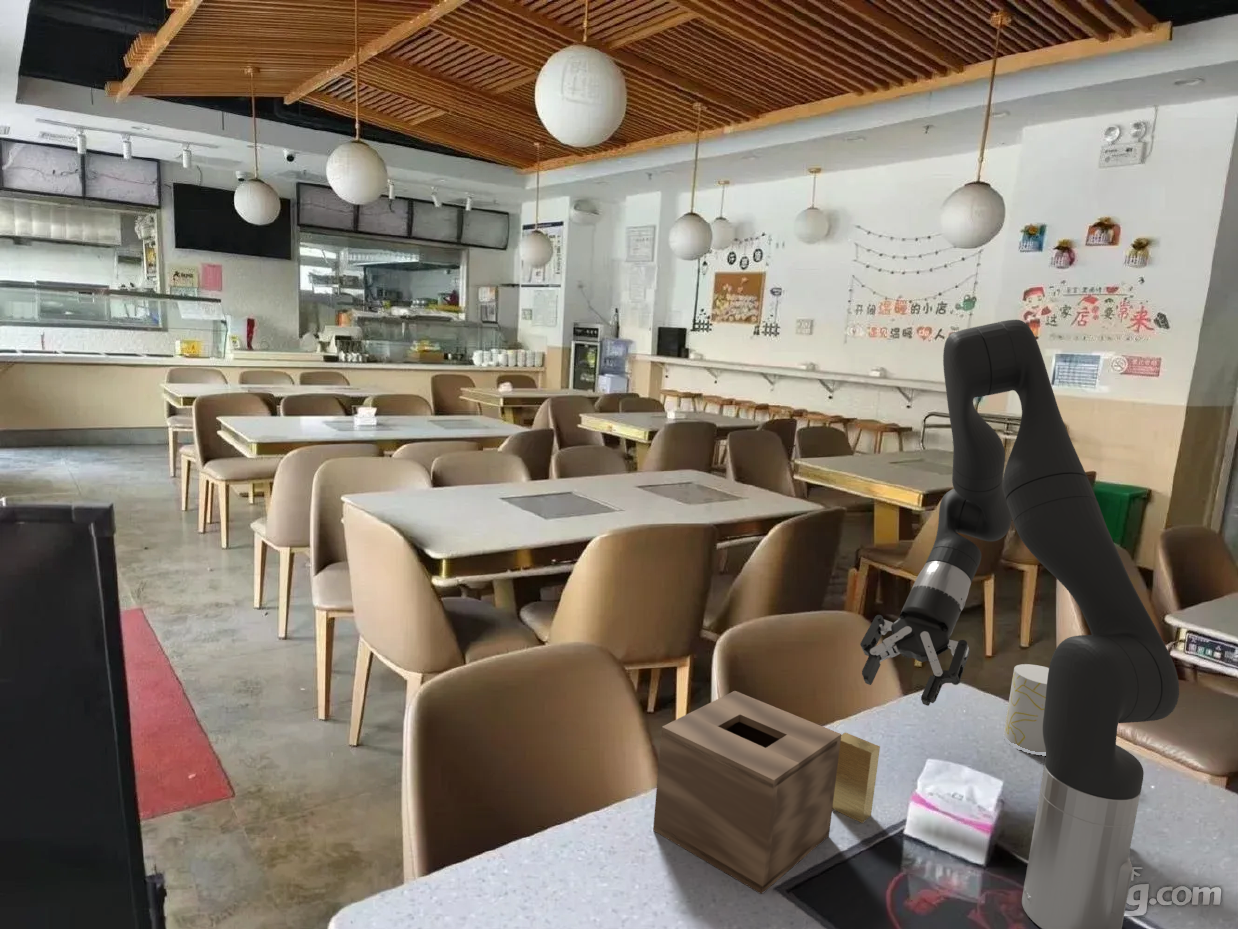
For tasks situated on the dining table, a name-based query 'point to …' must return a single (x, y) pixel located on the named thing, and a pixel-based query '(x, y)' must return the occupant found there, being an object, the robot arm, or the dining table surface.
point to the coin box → (746, 787)
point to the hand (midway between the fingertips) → (895, 692)
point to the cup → (1027, 707)
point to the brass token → (855, 777)
